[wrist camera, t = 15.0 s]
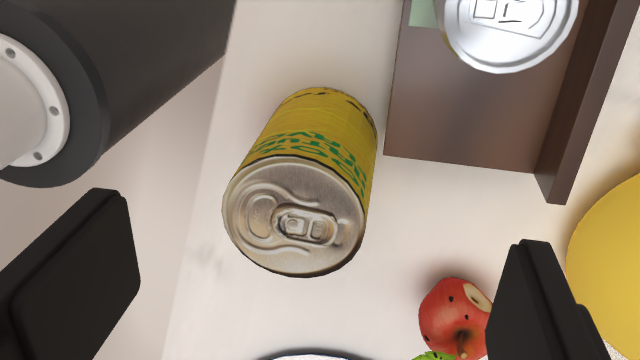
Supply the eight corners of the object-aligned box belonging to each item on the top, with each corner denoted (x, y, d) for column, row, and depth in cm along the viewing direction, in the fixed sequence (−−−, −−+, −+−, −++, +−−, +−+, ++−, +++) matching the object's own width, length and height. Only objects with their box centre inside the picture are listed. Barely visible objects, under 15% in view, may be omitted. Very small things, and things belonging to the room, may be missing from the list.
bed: (385, 135, 39) (379, 181, 33) (426, -169, 29) (430, -188, 23) (539, 154, 38) (565, 206, 31) (639, -158, 28) (707, -176, 21)
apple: (477, 251, 43) (494, 338, 35) (503, 306, 46) (524, 399, 37) (397, 275, 46) (394, 361, 37) (425, 325, 48) (429, 416, 40)
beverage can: (269, 81, 38) (217, 146, 28) (383, 93, 37) (373, 166, 27) (269, 179, 43) (224, 266, 33) (371, 193, 42) (357, 287, 32)
